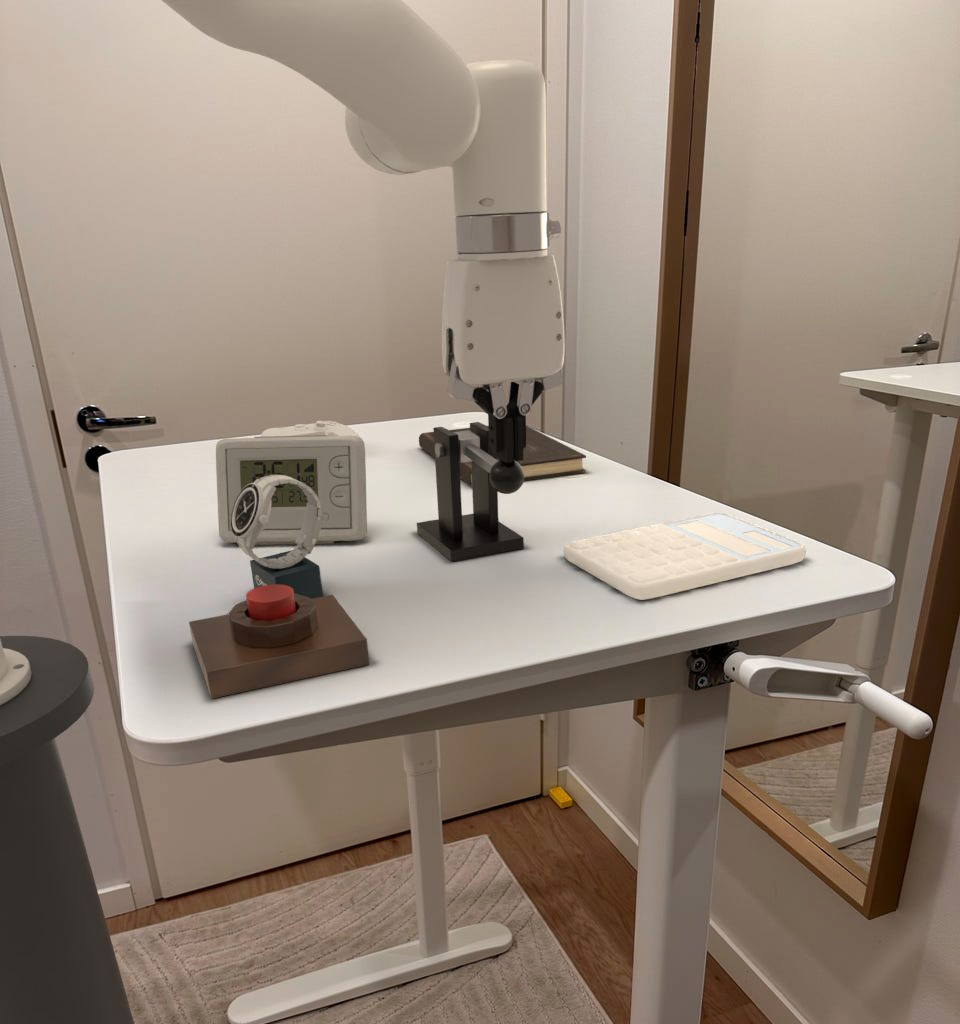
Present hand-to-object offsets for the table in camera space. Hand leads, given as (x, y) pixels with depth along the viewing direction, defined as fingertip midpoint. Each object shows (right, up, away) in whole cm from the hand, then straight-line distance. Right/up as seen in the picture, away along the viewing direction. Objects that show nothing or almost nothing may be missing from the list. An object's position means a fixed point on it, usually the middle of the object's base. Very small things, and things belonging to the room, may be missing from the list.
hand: (508, 458), depth 82 cm
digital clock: (-22, -6, +16) cm, 28 cm away
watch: (-20, -13, +1) cm, 24 cm away
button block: (-19, -18, -10) cm, 28 cm away
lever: (-2, -1, +5) cm, 6 cm away
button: (-19, -15, -12) cm, 27 cm away
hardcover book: (0, +8, +43) cm, 44 cm away
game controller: (-28, +10, +49) cm, 57 cm away
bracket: (-4, -6, +13) cm, 15 cm away
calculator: (+17, -9, +6) cm, 20 cm away
